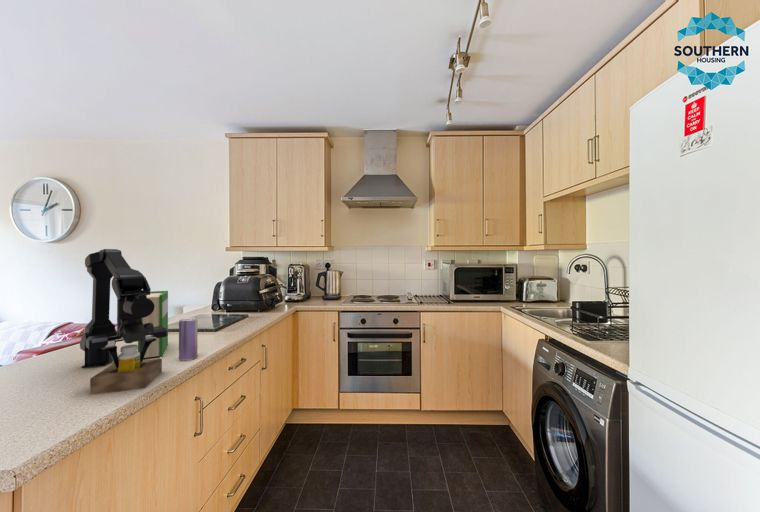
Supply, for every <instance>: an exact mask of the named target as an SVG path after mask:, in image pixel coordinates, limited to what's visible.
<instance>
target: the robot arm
mask: <svg viewBox="0 0 760 512" xmlns="http://www.w3.org/2000/svg"><path fill="white" fill-rule="evenodd" d="M84 265H85V268H86V272H87V273H88V274H89V276H90V277H91V278H92V301H91V302H92V303H91V304H92V308H91V320H90V321H89V322H88V323H87V324H86V326H85V327H84V332H83V334H82V337H81V338H80V341H79V347H80V350H81V351H83V352H84V364H83V365H82V366H81V368H82V369H84V368H93V367H94V368H95V367H105V366H106V365H108V364H109V363H111V362H113V364H115V366H116V368H118V356H119V355H118V352H117V351H118V345H116V343H118V342H124V343H125V344H132V343H135V342H138V341H140V351H139V352H140V362H142V361H143V360H144V359H145V358H144V356H145V353H146V351H147V349H148V347H149V345H150V344H151V343H152V342H153V341H156V339H155V337H156V338H161V337H166V336H168V337H169V330H168V331H167V329H166V328H165V327H162V326H157V327H153V323H145V324H143V323H142V318H144V317H147V316H149V315H150V314H151V313H152V312H153V311H154V307H155V306H154V303H153V302H152V301H151V300H150V299H148V298H147V295H150V292H151V291H152V289H151V286H150V285H149V282H148V280H147V278H146V276H145V275H144V274H143V273H142V272H141V271H139V270H137V269H134V268H132V267H131V266H130V265H129V263H128V262H127V261H126V259H125V258H124V256H123V255H122V250H120V249H117V248H103V249H100V250H99V251H95V252H93V253H89V254H88V255H86V257H85V259H84ZM111 288H112V291H113V292H114V294H115V297H116V299H117V300H116V301H117V303H116V325H115V324H114V323H113V322H112V321H111V319H110V308H111V307H110V305H111V303H110V302H111V299H110V298H111Z"/></svg>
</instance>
